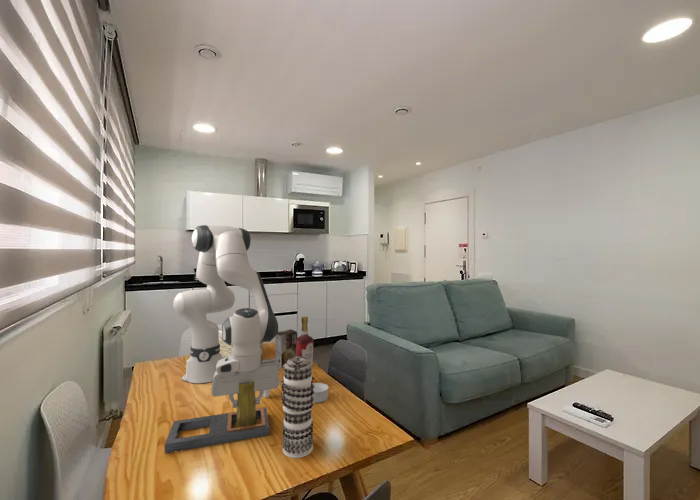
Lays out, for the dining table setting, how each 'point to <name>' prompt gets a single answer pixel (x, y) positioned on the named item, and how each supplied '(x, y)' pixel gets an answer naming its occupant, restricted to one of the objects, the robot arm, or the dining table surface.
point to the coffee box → (285, 346)
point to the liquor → (305, 343)
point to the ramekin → (320, 392)
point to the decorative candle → (297, 407)
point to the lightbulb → (266, 393)
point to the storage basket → (229, 346)
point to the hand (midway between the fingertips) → (246, 405)
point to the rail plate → (215, 431)
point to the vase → (246, 405)
